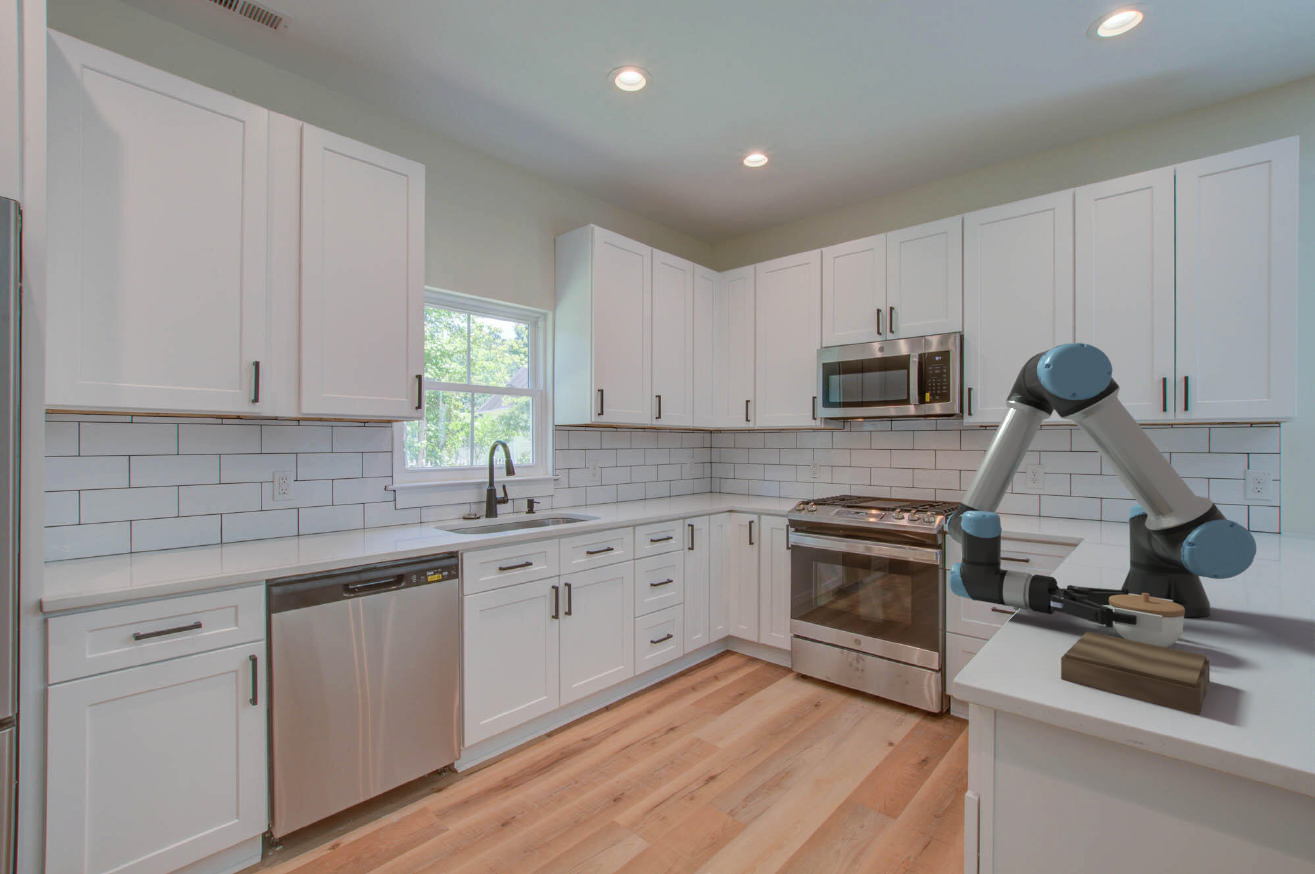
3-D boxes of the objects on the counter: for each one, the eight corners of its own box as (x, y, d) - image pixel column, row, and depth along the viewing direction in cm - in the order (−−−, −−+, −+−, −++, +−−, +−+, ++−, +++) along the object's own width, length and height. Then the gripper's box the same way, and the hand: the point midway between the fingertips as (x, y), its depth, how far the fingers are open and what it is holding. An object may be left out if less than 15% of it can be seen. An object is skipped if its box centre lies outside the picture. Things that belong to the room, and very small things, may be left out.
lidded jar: (1200, 657, 100) (1200, 603, 100) (1129, 652, 102) (1129, 600, 102) (1160, 636, 111) (1160, 587, 111) (1096, 632, 113) (1096, 584, 113)
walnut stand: (1084, 652, 102) (1084, 630, 102) (1209, 680, 90) (1209, 655, 90) (1061, 678, 91) (1061, 653, 91) (1199, 714, 80) (1199, 685, 80)
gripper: (1048, 598, 128) (1176, 620, 113) (1012, 623, 111) (1156, 654, 96) (1048, 564, 128) (1176, 582, 113) (1012, 584, 111) (1156, 608, 96)
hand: (1167, 615), depth 104 cm, fingers open, 13 cm apart
